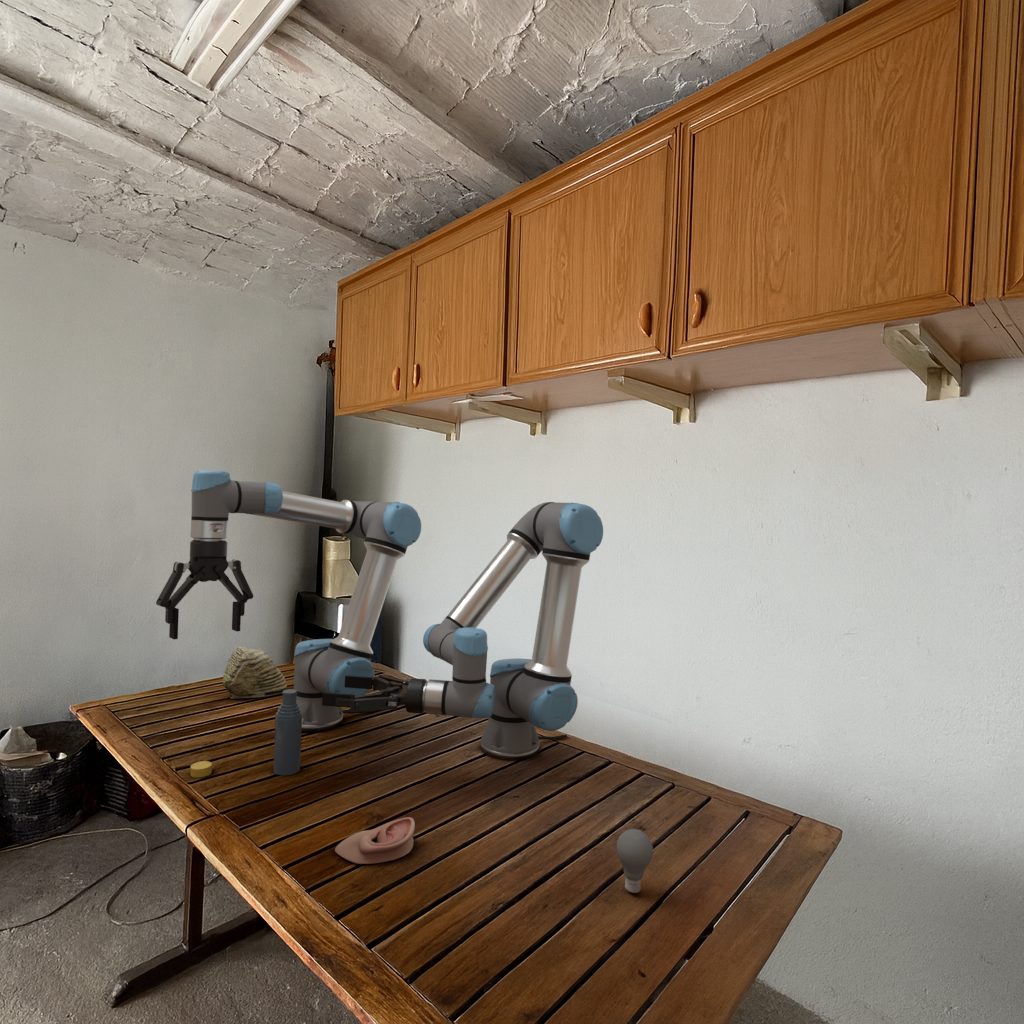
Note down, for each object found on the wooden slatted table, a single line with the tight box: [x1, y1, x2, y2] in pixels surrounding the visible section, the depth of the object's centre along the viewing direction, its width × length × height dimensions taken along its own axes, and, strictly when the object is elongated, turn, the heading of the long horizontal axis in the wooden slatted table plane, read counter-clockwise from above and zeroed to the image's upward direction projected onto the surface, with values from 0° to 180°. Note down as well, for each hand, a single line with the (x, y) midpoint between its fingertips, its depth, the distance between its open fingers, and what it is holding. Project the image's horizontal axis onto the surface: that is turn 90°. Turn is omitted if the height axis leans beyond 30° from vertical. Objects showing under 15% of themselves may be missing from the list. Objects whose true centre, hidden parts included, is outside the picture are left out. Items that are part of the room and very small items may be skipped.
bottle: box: [272, 688, 303, 776], centre depth 146 cm, size 6×6×18 cm
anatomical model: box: [334, 816, 416, 865], centre depth 115 cm, size 13×4×12 cm
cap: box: [189, 760, 213, 779], centre depth 142 cm, size 4×4×2 cm
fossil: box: [222, 646, 288, 699], centre depth 198 cm, size 9×18×15 cm, turn 132°
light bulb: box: [615, 828, 654, 894], centre depth 106 cm, size 6×6×10 cm
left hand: (205, 634), depth 142 cm, fingers open, 13 cm apart
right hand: (334, 689), depth 145 cm, fingers open, 13 cm apart
